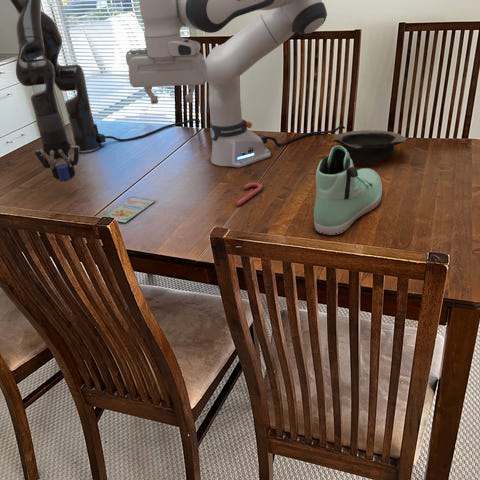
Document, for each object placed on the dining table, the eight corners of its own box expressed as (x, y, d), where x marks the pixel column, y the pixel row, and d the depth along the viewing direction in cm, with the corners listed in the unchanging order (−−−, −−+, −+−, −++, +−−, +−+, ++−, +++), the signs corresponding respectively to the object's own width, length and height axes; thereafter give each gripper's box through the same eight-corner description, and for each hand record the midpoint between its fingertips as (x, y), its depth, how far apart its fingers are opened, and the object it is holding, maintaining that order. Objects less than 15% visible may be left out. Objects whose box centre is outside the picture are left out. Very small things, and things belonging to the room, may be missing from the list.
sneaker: (389, 187, 148) (396, 123, 138) (356, 242, 123) (361, 168, 112) (346, 181, 154) (350, 119, 144) (306, 232, 129) (307, 161, 118)
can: (73, 175, 160) (70, 163, 157) (70, 180, 156) (66, 167, 154) (61, 176, 160) (57, 164, 157) (57, 182, 156) (54, 169, 154)
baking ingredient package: (101, 217, 143) (132, 196, 155) (101, 218, 144) (132, 197, 155) (125, 221, 140) (154, 200, 151) (125, 223, 140) (154, 201, 152)
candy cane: (223, 203, 147) (223, 198, 147) (250, 184, 157) (250, 180, 157) (239, 207, 144) (239, 202, 143) (266, 187, 154) (265, 183, 154)
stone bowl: (364, 175, 156) (364, 148, 152) (319, 158, 176) (318, 133, 172) (421, 157, 165) (422, 130, 161) (371, 142, 185) (372, 118, 181)
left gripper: (24, 133, 145) (40, 185, 154) (72, 128, 146) (85, 179, 155) (30, 125, 151) (45, 175, 160) (76, 121, 152) (88, 170, 161)
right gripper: (120, 51, 118) (130, 107, 126) (201, 47, 116) (207, 104, 123) (128, 47, 124) (137, 100, 131) (205, 42, 121) (211, 97, 128)
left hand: (65, 177), depth 158 cm, fingers closed on can, 4 cm apart
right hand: (172, 102), depth 127 cm, fingers open, 8 cm apart
